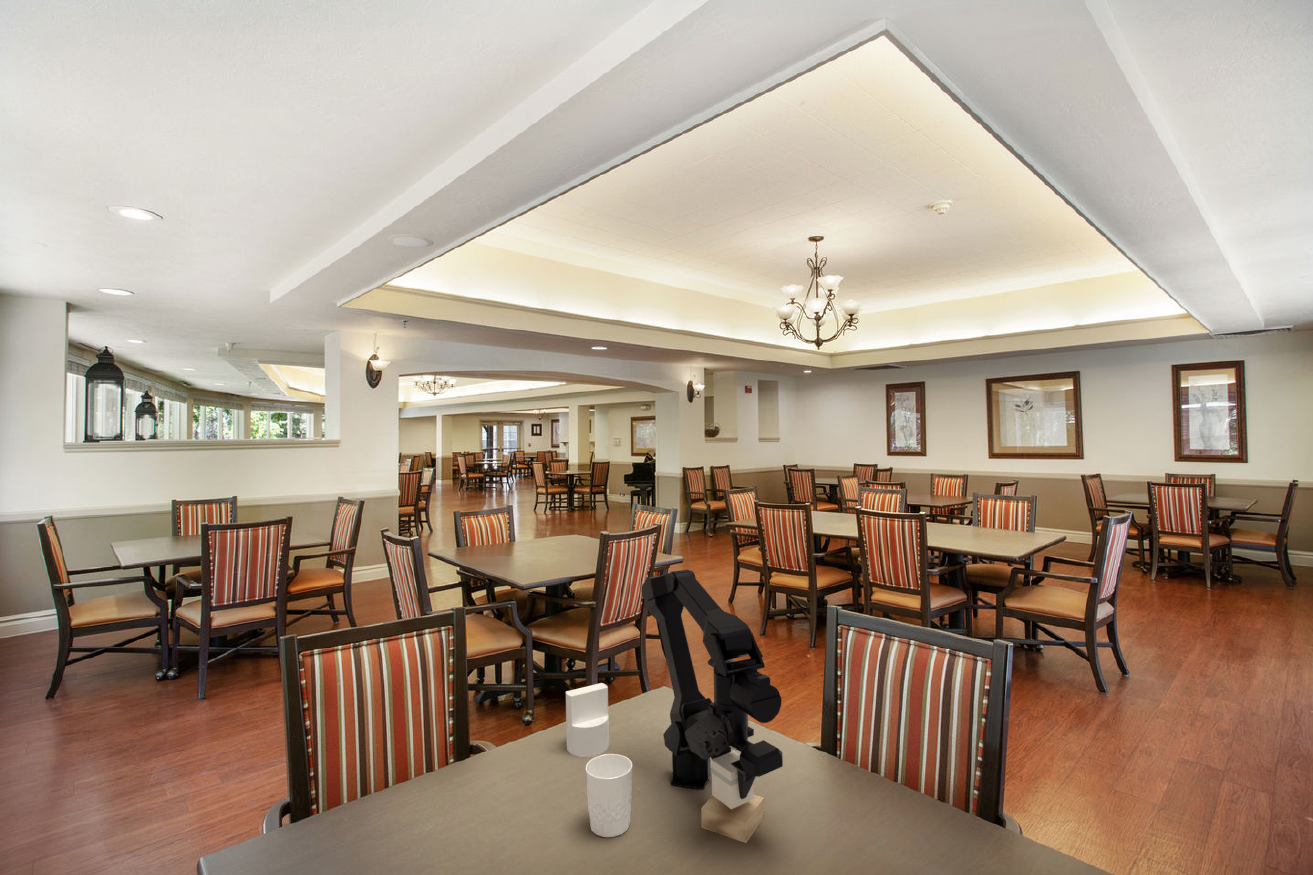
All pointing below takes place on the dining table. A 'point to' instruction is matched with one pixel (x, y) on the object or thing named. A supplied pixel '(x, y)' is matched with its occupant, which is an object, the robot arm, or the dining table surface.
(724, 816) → the oak block
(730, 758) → the white banded box
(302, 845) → the dining table surface
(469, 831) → the dining table surface
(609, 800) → the white cup
